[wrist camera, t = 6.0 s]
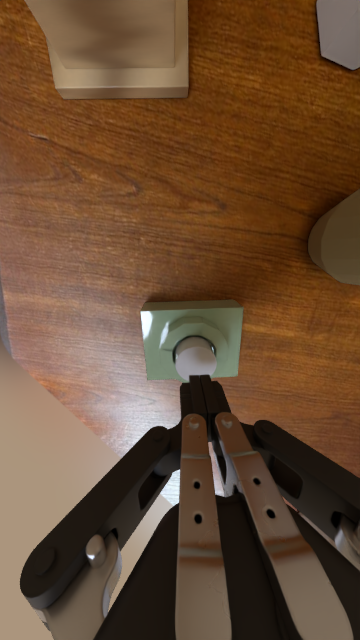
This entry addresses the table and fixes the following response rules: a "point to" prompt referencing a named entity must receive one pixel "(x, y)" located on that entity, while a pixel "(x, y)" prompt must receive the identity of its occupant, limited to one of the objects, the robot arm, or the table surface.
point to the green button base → (191, 334)
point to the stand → (116, 47)
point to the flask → (340, 31)
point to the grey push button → (194, 357)
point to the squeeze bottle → (338, 241)
